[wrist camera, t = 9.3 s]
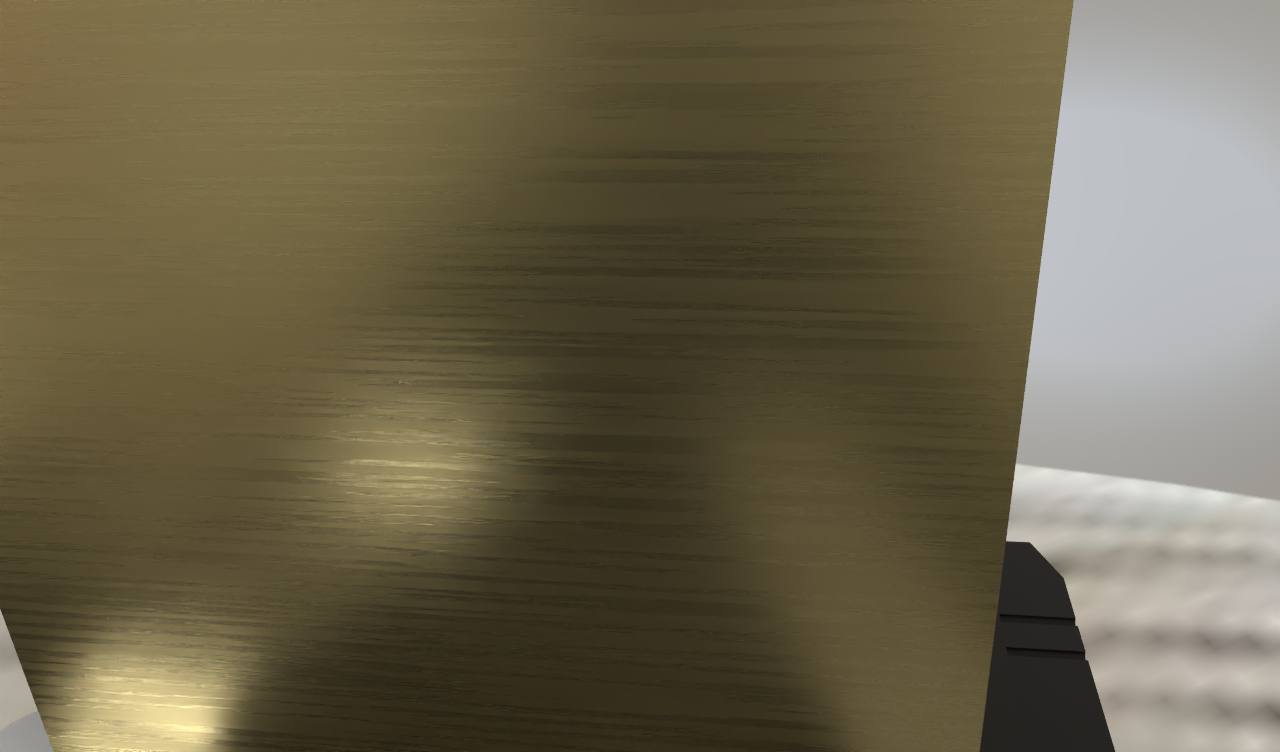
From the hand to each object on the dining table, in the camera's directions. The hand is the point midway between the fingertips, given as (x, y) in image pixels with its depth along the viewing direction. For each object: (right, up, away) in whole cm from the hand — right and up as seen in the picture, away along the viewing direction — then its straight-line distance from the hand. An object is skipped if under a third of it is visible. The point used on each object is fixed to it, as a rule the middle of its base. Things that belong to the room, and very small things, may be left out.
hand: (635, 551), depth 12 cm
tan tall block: (0, -9, +2) cm, 9 cm away
